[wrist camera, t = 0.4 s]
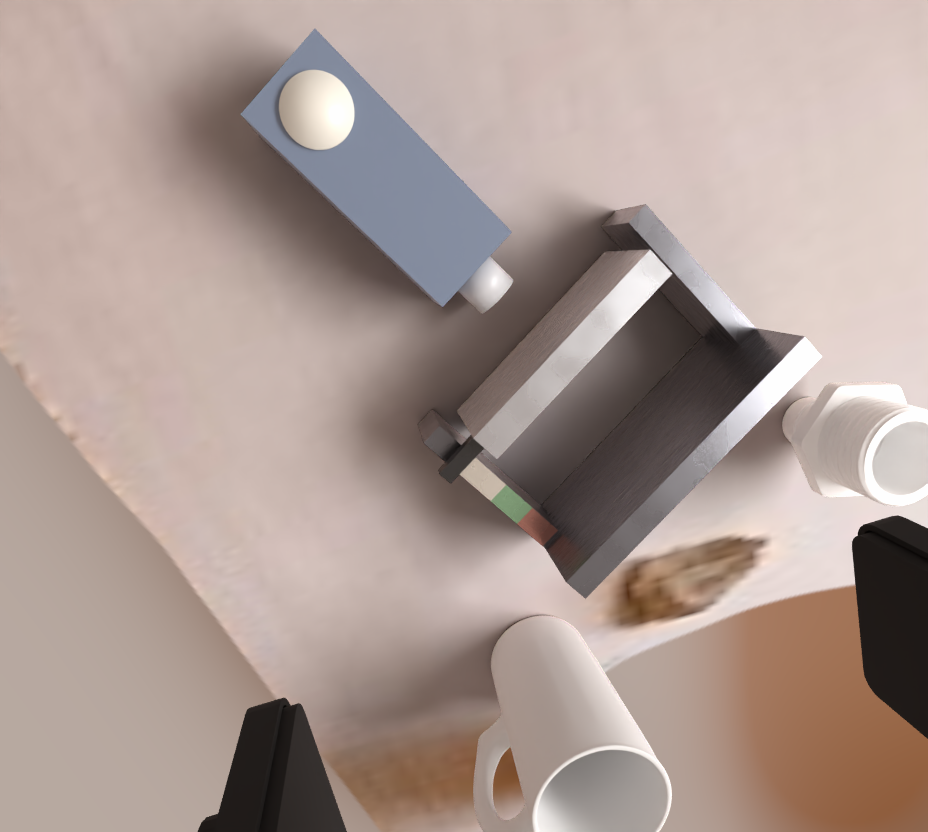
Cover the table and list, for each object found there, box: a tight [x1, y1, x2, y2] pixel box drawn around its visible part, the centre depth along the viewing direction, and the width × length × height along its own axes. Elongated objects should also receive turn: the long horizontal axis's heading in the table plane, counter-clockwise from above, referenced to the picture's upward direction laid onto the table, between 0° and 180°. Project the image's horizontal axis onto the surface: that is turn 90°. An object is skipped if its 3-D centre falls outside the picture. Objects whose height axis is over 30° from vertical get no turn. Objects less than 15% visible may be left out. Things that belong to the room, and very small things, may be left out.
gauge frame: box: [418, 204, 822, 599], centre depth 34 cm, size 10×16×8 cm, turn 136°
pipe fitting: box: [782, 382, 928, 506], centre depth 37 cm, size 6×7×8 cm
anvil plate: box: [438, 250, 672, 483], centre depth 34 cm, size 2×15×6 cm, turn 136°
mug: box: [473, 616, 672, 832], centre depth 36 cm, size 10×7×12 cm, turn 130°
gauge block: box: [241, 29, 513, 314], centre depth 32 cm, size 5×14×5 cm, turn 46°
